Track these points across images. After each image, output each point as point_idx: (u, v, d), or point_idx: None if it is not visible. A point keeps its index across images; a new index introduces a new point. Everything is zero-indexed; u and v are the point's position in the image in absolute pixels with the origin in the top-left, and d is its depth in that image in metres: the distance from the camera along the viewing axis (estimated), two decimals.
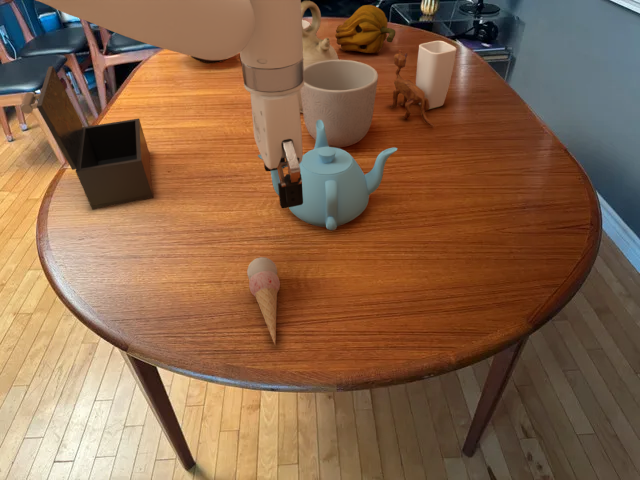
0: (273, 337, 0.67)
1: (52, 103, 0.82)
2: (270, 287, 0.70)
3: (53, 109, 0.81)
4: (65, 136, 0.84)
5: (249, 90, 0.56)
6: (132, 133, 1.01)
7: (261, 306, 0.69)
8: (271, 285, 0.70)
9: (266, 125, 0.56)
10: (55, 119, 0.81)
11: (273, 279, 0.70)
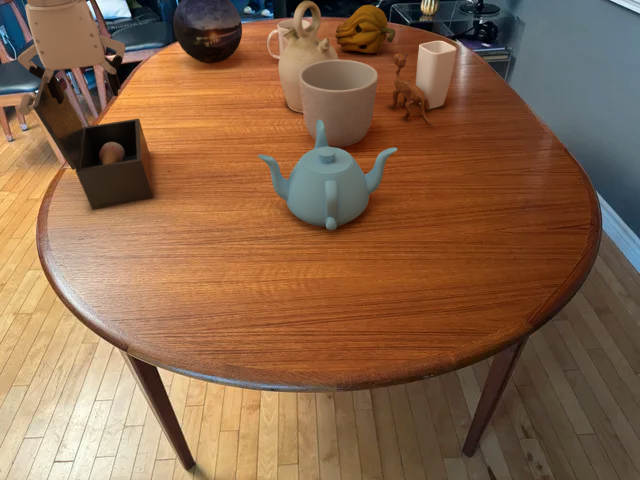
0: None
1: (49, 104, 0.82)
2: (112, 151, 0.95)
3: (50, 110, 0.81)
4: (64, 136, 0.84)
5: None
6: (132, 133, 1.01)
7: (102, 160, 0.92)
8: (113, 150, 0.95)
9: None
10: (53, 120, 0.81)
11: (116, 148, 0.95)
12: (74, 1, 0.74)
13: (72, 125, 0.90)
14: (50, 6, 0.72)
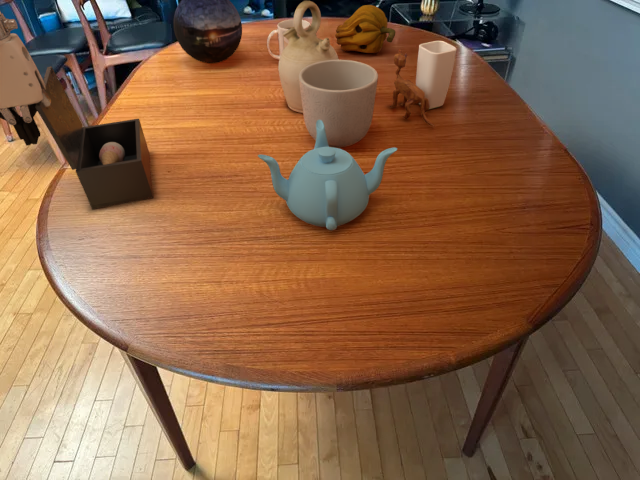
0: None
1: (51, 103, 0.82)
2: (112, 151, 0.95)
3: (52, 109, 0.81)
4: (64, 136, 0.84)
5: None
6: (132, 133, 1.01)
7: (102, 160, 0.92)
8: (113, 150, 0.95)
9: None
10: (54, 119, 0.81)
11: (116, 148, 0.95)
12: (3, 40, 0.69)
13: (72, 125, 0.90)
14: None
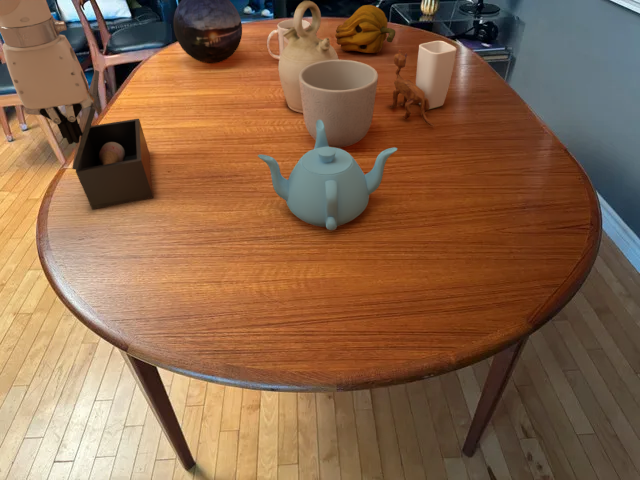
0: None
1: None
2: (112, 151, 0.95)
3: None
4: None
5: None
6: (132, 133, 1.01)
7: (102, 160, 0.92)
8: (113, 150, 0.95)
9: None
10: None
11: (116, 148, 0.95)
12: (53, 41, 0.71)
13: None
14: (28, 47, 0.69)
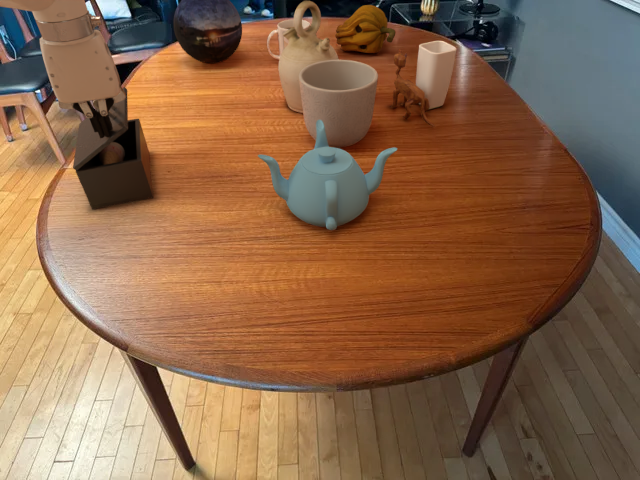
0: None
1: None
2: (112, 151, 0.95)
3: None
4: None
5: None
6: (132, 133, 1.01)
7: (102, 160, 0.92)
8: (113, 150, 0.95)
9: None
10: None
11: (116, 148, 0.95)
12: (89, 35, 0.72)
13: None
14: (66, 41, 0.70)
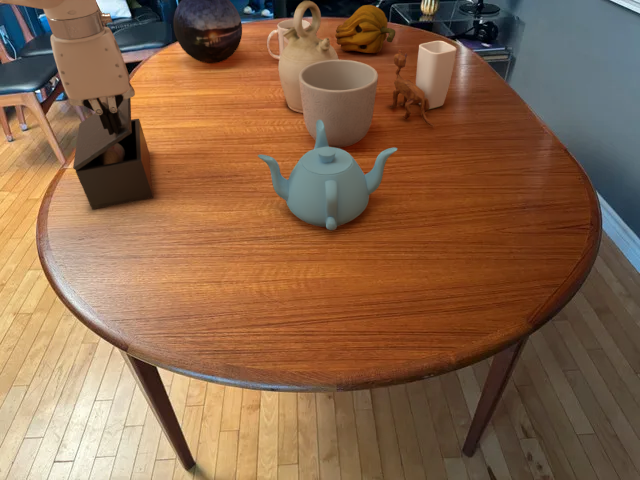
0: None
1: None
2: (112, 151, 0.95)
3: None
4: None
5: None
6: (132, 133, 1.01)
7: (102, 160, 0.92)
8: (113, 150, 0.95)
9: None
10: None
11: (116, 148, 0.95)
12: (100, 33, 0.72)
13: None
14: (76, 38, 0.70)
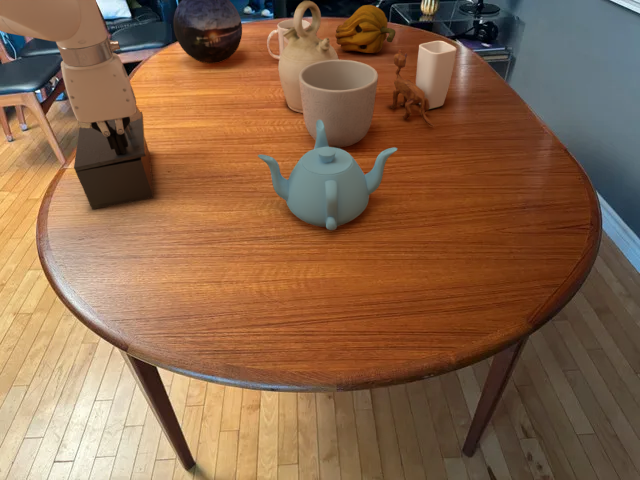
0: None
1: None
2: None
3: None
4: None
5: None
6: None
7: None
8: None
9: None
10: None
11: None
12: (108, 60, 0.75)
13: None
14: (86, 66, 0.73)
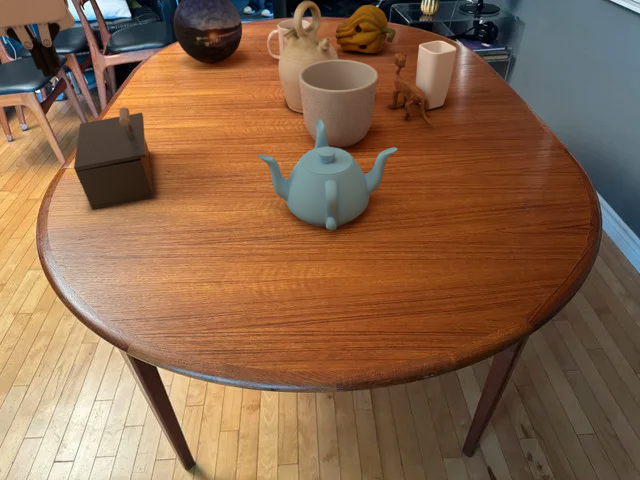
0: None
1: None
2: None
3: None
4: None
5: None
6: None
7: None
8: None
9: None
10: None
11: None
12: None
13: None
14: None
